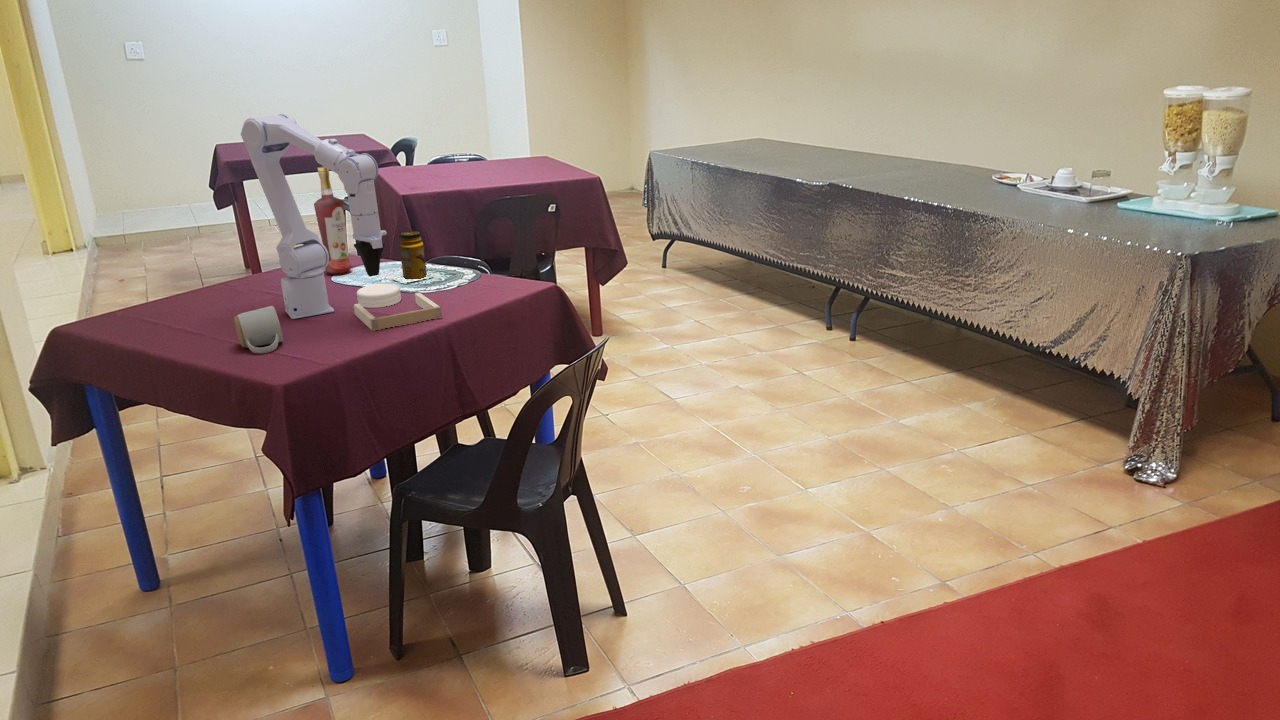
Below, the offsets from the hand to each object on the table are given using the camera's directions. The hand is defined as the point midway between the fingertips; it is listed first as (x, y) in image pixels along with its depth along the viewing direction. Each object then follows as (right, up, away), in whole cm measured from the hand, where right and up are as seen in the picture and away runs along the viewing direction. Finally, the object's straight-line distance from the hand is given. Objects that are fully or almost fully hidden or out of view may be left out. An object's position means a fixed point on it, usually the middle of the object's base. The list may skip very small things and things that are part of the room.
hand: (373, 275), depth 196 cm
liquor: (-23, +5, +46) cm, 51 cm away
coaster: (-4, -5, +18) cm, 19 cm away
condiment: (-1, +2, +37) cm, 37 cm away
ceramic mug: (-20, -16, -10) cm, 27 cm away
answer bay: (+4, -9, +6) cm, 11 cm away
